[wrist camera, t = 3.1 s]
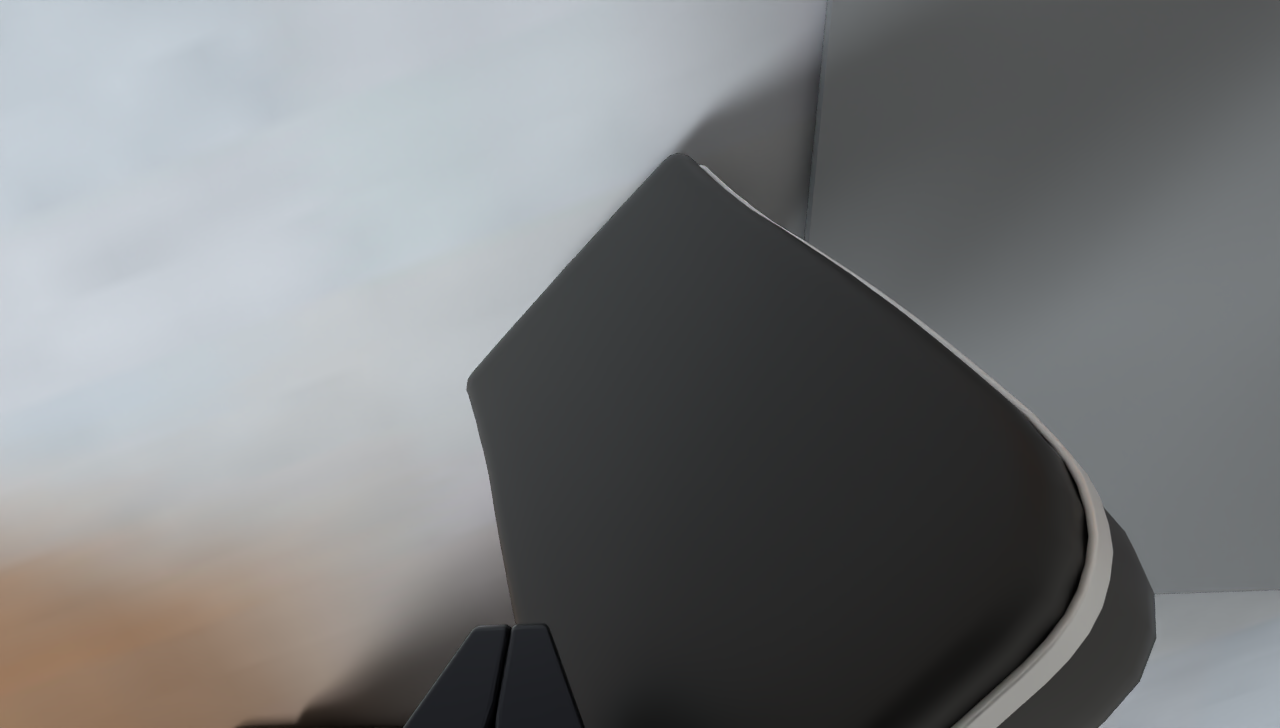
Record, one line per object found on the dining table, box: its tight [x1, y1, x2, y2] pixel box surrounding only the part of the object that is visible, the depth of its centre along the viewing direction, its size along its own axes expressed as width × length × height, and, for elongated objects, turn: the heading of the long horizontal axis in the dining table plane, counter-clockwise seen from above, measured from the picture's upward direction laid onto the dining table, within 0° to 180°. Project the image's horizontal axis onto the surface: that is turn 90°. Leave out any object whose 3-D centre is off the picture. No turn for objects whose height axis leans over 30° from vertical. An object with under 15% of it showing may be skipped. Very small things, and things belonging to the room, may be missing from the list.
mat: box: [804, 0, 1280, 594], centre depth 18 cm, size 18×16×1 cm
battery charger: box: [467, 153, 1156, 728], centre depth 13 cm, size 7×4×11 cm, turn 136°
